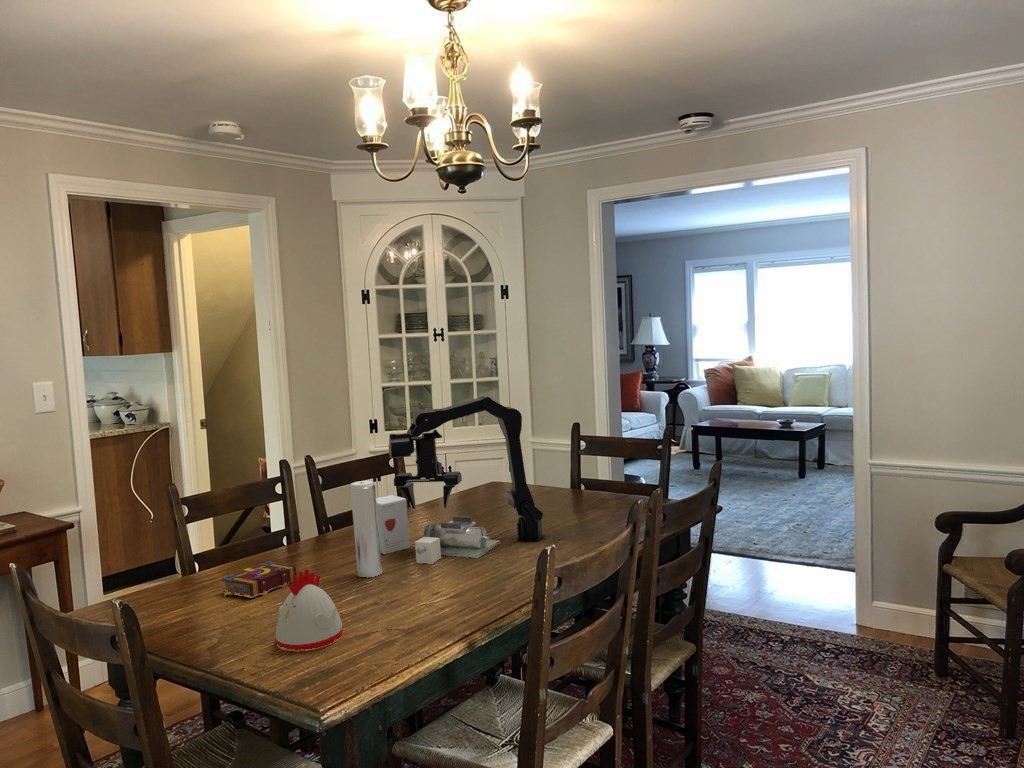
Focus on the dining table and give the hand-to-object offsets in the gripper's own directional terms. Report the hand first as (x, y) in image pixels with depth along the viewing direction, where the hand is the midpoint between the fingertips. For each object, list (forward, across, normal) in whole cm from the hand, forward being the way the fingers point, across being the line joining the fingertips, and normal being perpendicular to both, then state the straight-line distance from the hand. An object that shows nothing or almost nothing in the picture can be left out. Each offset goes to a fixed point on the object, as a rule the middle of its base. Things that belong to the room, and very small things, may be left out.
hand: (429, 508), depth 223 cm
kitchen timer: (+14, +12, +60) cm, 63 cm away
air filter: (+13, +13, +18) cm, 26 cm away
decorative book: (+14, +39, +28) cm, 50 cm away
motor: (+13, -7, -3) cm, 15 cm away
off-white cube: (+13, -1, +7) cm, 15 cm away
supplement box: (+13, +14, -5) cm, 20 cm away
